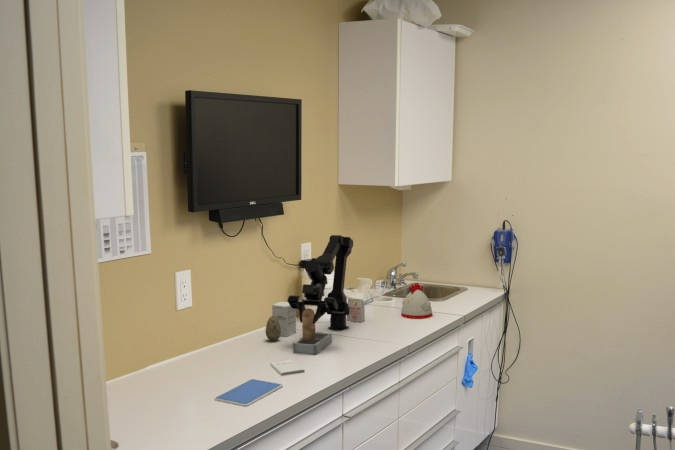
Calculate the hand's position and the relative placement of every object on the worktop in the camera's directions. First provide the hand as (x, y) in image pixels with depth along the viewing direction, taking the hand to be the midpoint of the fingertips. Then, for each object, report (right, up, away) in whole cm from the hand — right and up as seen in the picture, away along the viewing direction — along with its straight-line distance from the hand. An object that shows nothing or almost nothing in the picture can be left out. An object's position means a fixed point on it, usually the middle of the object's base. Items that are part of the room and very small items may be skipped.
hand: (307, 322), depth 243 cm
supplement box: (-11, -9, +27) cm, 30 cm away
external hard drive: (-6, -14, -18) cm, 24 cm away
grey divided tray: (+2, -10, +6) cm, 12 cm away
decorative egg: (-14, -10, +17) cm, 24 cm away
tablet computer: (-16, -16, -41) cm, 47 cm away
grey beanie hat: (+47, -5, +54) cm, 72 cm away
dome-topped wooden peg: (+1, -6, +2) cm, 7 cm away
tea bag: (+19, -6, +45) cm, 50 cm away
